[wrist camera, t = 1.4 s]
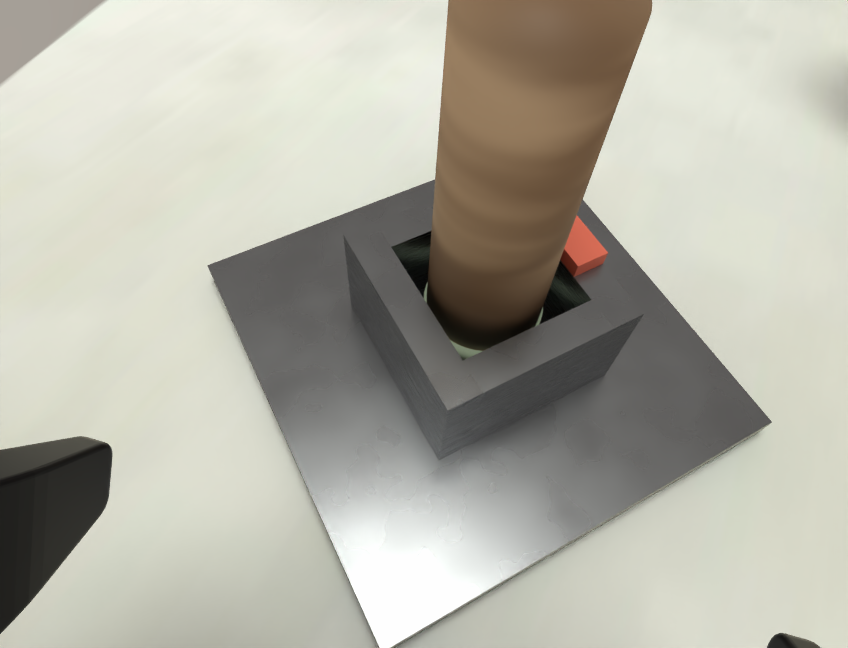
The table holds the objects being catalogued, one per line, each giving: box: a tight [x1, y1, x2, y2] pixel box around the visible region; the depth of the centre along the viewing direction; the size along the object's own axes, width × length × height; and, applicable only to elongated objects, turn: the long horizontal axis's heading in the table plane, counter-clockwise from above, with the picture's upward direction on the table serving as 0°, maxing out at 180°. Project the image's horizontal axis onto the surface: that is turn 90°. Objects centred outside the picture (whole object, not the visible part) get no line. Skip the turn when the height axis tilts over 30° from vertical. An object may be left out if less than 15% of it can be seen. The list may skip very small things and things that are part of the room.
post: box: [424, 0, 652, 360], centre depth 19 cm, size 4×4×14 cm
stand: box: [208, 180, 772, 648], centre depth 23 cm, size 16×16×6 cm
